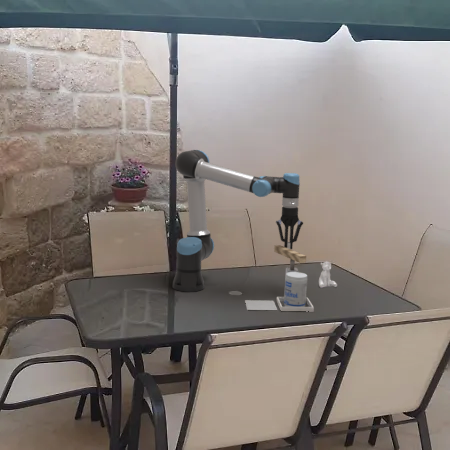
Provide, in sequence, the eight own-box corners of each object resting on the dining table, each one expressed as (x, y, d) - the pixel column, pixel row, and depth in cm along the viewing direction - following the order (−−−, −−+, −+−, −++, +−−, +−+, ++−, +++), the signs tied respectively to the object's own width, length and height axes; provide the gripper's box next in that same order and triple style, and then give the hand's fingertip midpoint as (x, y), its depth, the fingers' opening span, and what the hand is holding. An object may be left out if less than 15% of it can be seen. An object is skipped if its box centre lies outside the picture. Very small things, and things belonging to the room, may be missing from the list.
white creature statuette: (320, 288, 294) (321, 264, 292) (312, 283, 302) (314, 260, 300) (337, 287, 297) (339, 263, 295) (329, 282, 305) (331, 259, 303)
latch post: (285, 299, 274) (287, 270, 271) (284, 296, 279) (285, 267, 276) (296, 300, 274) (298, 270, 272) (294, 296, 279) (296, 267, 276)
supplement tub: (281, 308, 262) (282, 275, 260) (286, 301, 271) (288, 270, 268) (302, 311, 259) (304, 278, 256) (307, 304, 268) (309, 273, 265)
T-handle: (305, 272, 267) (306, 255, 266) (299, 273, 266) (300, 256, 264) (279, 261, 287) (279, 245, 285) (273, 261, 286) (274, 245, 284)
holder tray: (280, 311, 258) (281, 307, 257) (276, 301, 272) (276, 296, 271) (313, 312, 259) (313, 307, 258) (307, 301, 273) (307, 297, 272)
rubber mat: (247, 310, 258) (247, 309, 258) (244, 301, 270) (244, 300, 270) (277, 310, 258) (277, 310, 258) (273, 301, 271) (273, 300, 271)
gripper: (277, 207, 275) (275, 257, 280) (305, 208, 276) (302, 258, 280) (275, 205, 283) (273, 253, 287) (302, 205, 283) (300, 254, 288)
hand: (287, 255), depth 284 cm, fingers closed
